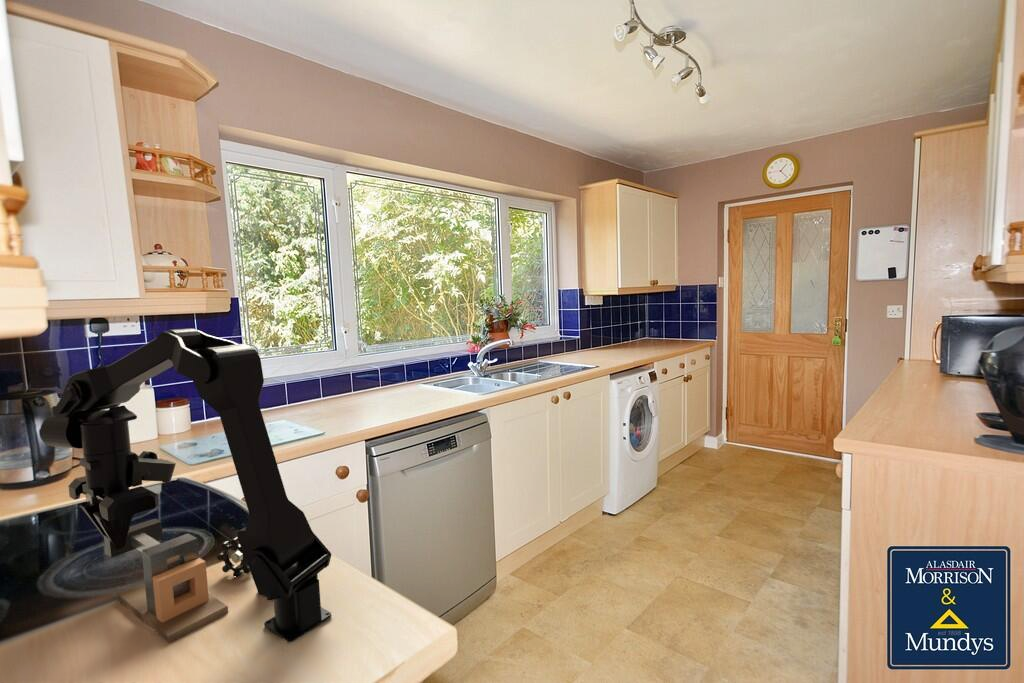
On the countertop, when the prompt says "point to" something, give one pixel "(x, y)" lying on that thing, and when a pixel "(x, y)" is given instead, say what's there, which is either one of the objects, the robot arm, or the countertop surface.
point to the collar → (196, 596)
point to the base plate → (177, 624)
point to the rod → (141, 540)
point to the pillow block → (157, 564)
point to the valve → (233, 558)
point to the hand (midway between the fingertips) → (117, 545)
